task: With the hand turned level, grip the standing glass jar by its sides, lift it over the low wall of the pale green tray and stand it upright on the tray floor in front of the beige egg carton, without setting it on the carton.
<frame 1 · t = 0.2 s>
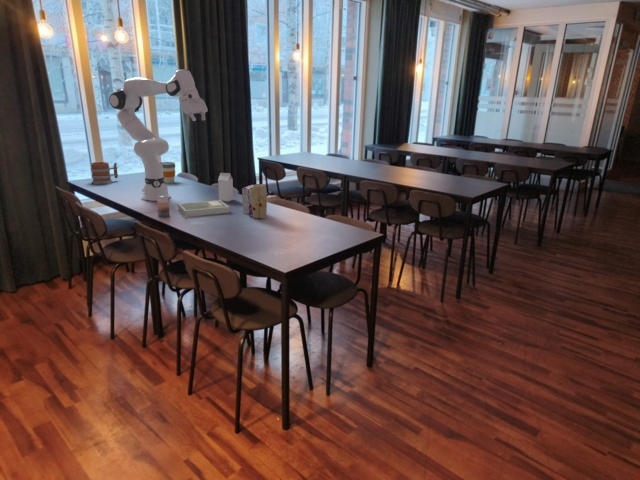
hand: (199, 120, 254), 52 cm above the table, tool tilted 20°, fingers open, 8 cm apart
glass jar: (164, 216, 244), on the table
reusable coffee cup: (168, 182, 334), on the table
milk carton: (226, 201, 283), on the table
mug: (105, 182, 326), on the table
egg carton: (215, 209, 258), point 1 cm above the table, touching pale green tray
candy bar box: (250, 213, 257), on the table
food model: (259, 218, 248), on the table
pale green tray: (203, 212, 255), on the table
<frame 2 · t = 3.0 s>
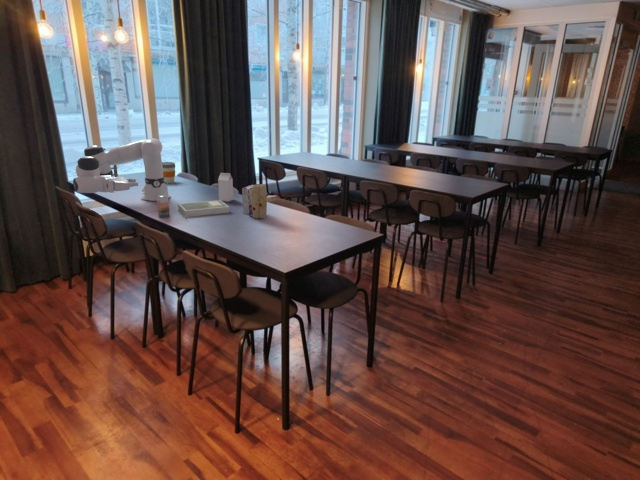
hand: (136, 182, 231), 21 cm above the table, tool horizontal, fingers open, 8 cm apart
nothing on the table moved.
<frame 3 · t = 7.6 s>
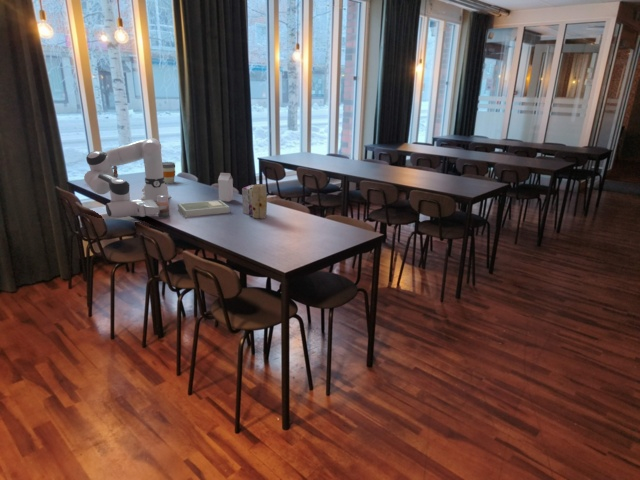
hand: (164, 205, 242), 7 cm above the table, tool horizontal, fingers closed on glass jar, 6 cm apart
glass jar: (164, 216, 244), on the table, touching gripper
everything else where it was.
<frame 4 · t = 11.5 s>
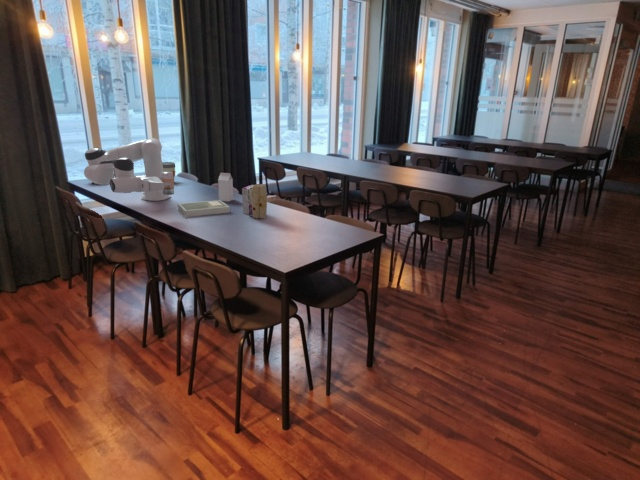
hand: (169, 182, 239), 20 cm above the table, tool horizontal, fingers closed on glass jar, 6 cm apart
glass jar: (168, 193, 240), point 13 cm above the table, touching gripper
everything else where it was.
when the fingers open (9 cm above the table, at t = 15.7 s): glass jar drops 2 cm, resting on pale green tray.
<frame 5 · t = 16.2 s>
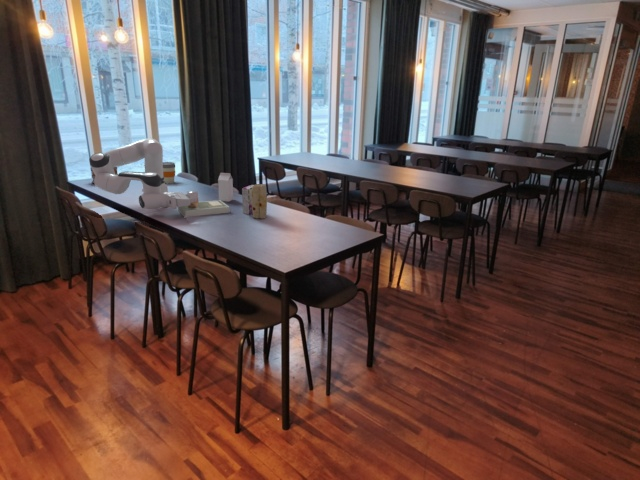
hand: (194, 197, 249), 9 cm above the table, tool horizontal, fingers open, 8 cm apart
glass jar: (193, 211, 251), point 1 cm above the table, touching pale green tray
everything else where it was.
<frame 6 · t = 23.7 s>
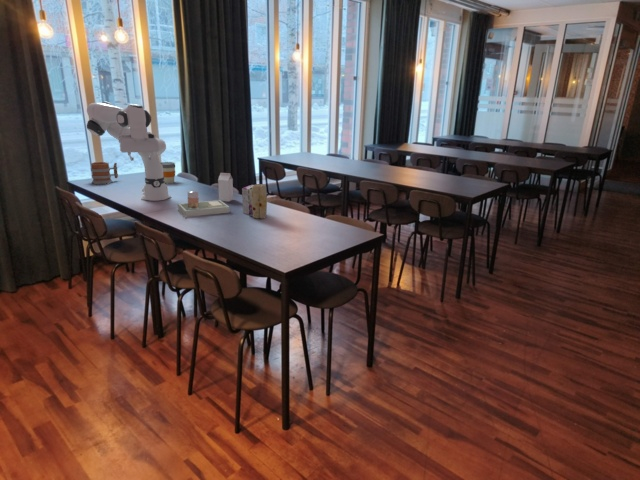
hand: (141, 160, 238), 31 cm above the table, tool pointing down, fingers open, 8 cm apart
nothing on the table moved.
at the end: glass jar inside the target area on the pale green tray (6.1 cm from its centre), point 1.1 cm above the pale green tray's base; glass jar tilted 1°; glass jar touching pale green tray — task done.
